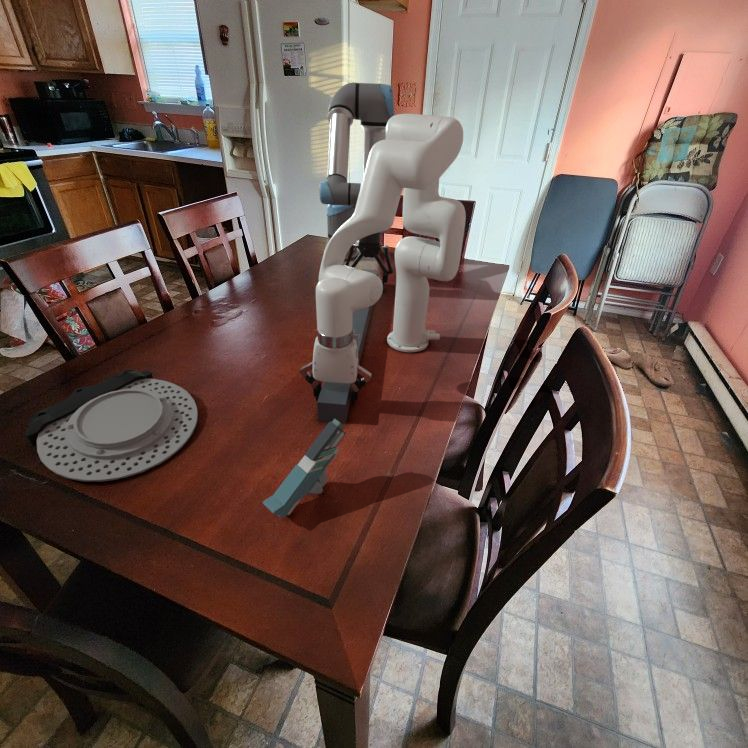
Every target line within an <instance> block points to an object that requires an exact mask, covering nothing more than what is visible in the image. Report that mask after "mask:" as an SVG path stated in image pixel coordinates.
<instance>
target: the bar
mask: <svg viewBox="0 0 748 748" xmlns="http://www.w3.org/2000/svg"><path fill="white" fill-rule="evenodd" d="M361 270H363V271H367V272H370V273H373V274H375V275H377V276H378V277H379V270H377V269H375V270H374V269H361ZM373 306H374V304H373V305H372V306H370V307H367V308H364V309H360V310H357V311H354V312H353V319H352V328H353V331H354V332H356V333H359V339H355V340H356V343H357V349H358V364H359V365H360V363H361V358H362V354H363V349H364V345H365V341H366V336H367V332H368V328H369V324H370V320H371V315H372V310H373ZM351 391H352V388H351V386H350V385H349V383H336V382H326V381H323V383H322V385H321V392H320V395H319V398H318V401H317V402H316V410H317V421H319V422H328V423H329V422H330V421H331V422H332V421H333V420H334V419H336V420H337V421H339V422H340V423H341V424H346V423H347V421H348V420H347V419H348V415H349V411H350V406H351Z"/></svg>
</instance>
